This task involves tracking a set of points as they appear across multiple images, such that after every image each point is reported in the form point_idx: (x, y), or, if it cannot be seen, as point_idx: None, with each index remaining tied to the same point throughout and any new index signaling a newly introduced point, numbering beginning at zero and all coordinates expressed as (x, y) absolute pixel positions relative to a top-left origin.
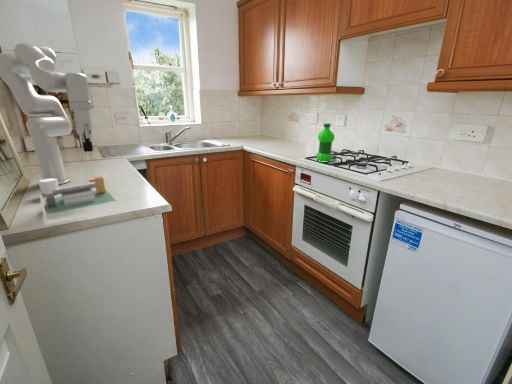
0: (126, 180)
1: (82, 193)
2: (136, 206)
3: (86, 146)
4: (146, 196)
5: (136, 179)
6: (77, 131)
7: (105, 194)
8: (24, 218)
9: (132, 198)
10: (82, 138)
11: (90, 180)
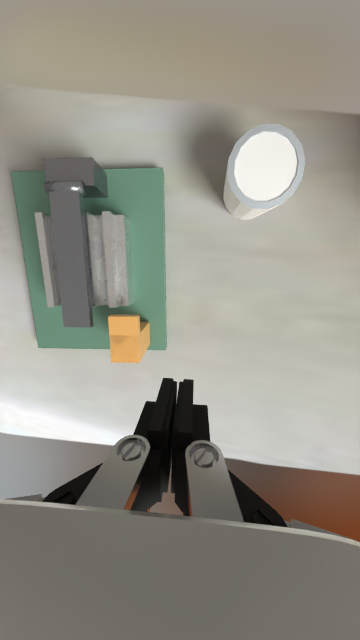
0: (263, 424)
1: (44, 274)
2: (4, 377)
3: (141, 419)
4: (68, 418)
5: (253, 449)
6: (15, 597)
7: (109, 338)
8: (48, 111)
9: (70, 387)
10: (188, 476)
11: (108, 318)
